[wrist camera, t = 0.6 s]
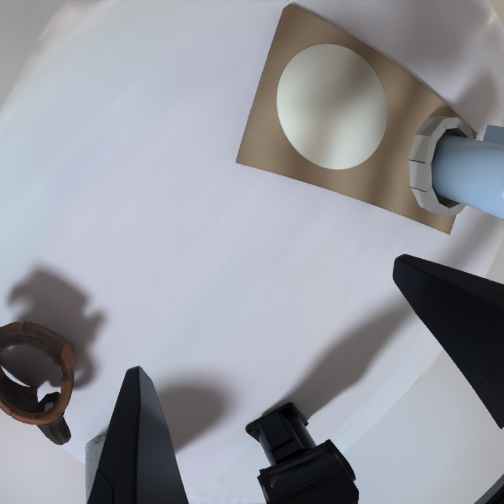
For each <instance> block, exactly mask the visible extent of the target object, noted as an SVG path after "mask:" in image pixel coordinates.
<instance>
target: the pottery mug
mask: <svg viewBox="0 0 504 504" xmlns="http://www.w3.org/2000/svg"><path fill="white" fill-rule="evenodd" d="M12 345H26V346H30V347H33V348H35V349H38V350H39V351H41V352H43V353H44V354H45V355H46V356H48V357H49V358H50V359H51V360H52V362H53V363H54V364H55V366H56V367H59V365H60V366H61V369H62V373H63V376H62V378H61V393H59V392H54V393H50V394H46V395H45V397H44V398H43V399H42V400H41V401H40V402H38V397H37V387H27V386H22V385H20V384H18V383H16V382H14V381H12V380H11V379H10V378H9V377H8V376H6V374H5V373H4V371H3V369H2V368H1V366H0V408H1V409H2V410H3V411H4V412H5V413H6V414H8V415H10V416H12V418H14V419H15V420H18V421H20V422H23V423H26V424H31V425H37V426H38V428H39V429H40V430H41V431H42V432H43V433H44V434H45V436H46V437H47V438H49V439H50V440H51V441H52V442H53V443H55V444H57V445H63V444H64V443H67V442H68V441H69V440H70V438H71V433H70V430H69V427H68V425H67V423H66V421H65V419H64V417H63V415H64V412H65V409H66V408H67V406H68V404H69V401H70V398H71V394H72V389H73V385H74V373H73V367H74V365H75V364H76V362H77V358H76V354H75V351H74V349H73V347H72V345H71V343H70V342H68V341H66V342H65V339H64V338H63V337H62V336H60V335H58V334H57V333H55V332H53V331H51V330H49V329H47V328H45V327H43V326H40V325H38V324H34V323H31V322H24V324H23V325H21V324H20V323H19V322H14V323H10V324H8V325H5V326H3V327H0V352H1V351H3V350H4V349H5V348H7V347H9V346H12Z"/></svg>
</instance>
